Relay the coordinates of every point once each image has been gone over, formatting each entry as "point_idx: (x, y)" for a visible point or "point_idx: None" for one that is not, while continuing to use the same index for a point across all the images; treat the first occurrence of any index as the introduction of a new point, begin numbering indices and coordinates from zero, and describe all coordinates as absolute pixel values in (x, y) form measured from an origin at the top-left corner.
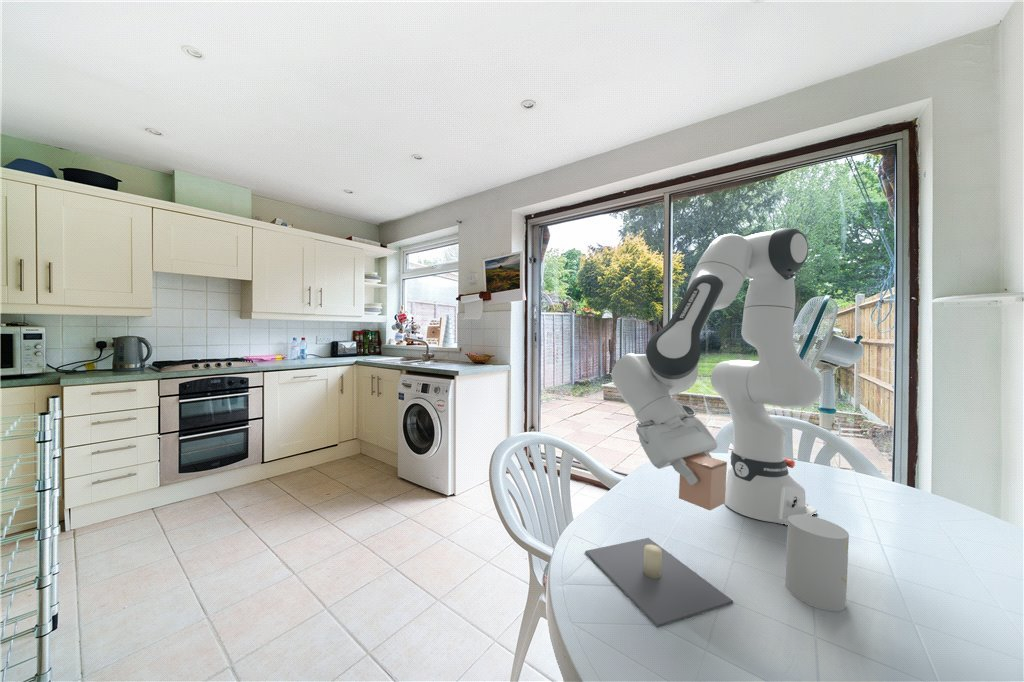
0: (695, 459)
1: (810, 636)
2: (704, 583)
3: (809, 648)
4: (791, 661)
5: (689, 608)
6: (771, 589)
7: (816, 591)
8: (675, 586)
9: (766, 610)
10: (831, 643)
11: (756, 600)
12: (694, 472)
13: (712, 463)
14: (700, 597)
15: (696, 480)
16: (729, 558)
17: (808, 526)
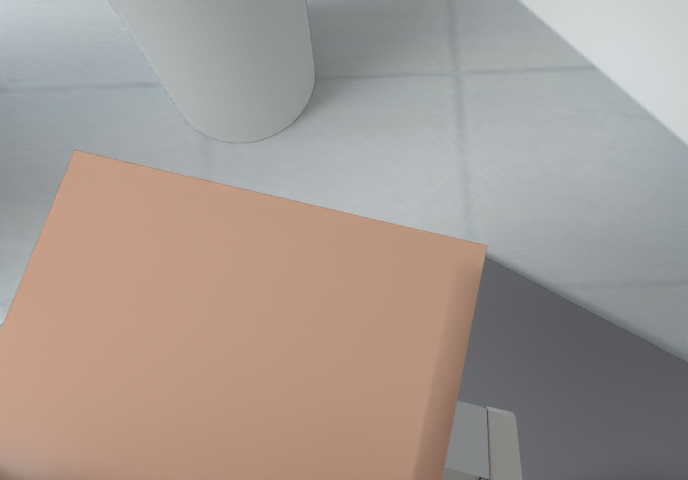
0: None
1: (466, 81)
2: None
3: (519, 82)
4: (604, 112)
5: (633, 355)
6: (308, 173)
7: (311, 44)
8: (554, 427)
9: (436, 175)
10: (456, 44)
11: (406, 202)
12: (458, 463)
13: (292, 277)
14: (544, 341)
15: (513, 415)
16: None
17: None
